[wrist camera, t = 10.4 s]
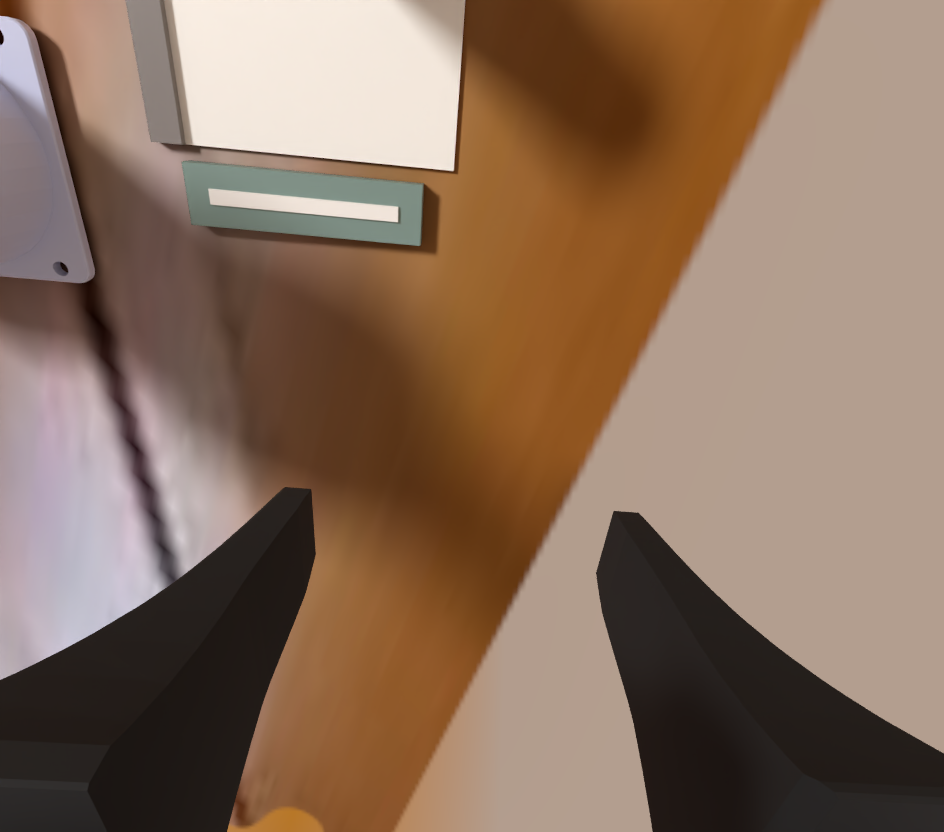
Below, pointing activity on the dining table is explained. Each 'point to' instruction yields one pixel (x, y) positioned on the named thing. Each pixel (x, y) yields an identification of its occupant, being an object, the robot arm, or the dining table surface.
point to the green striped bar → (304, 203)
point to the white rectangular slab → (304, 76)
